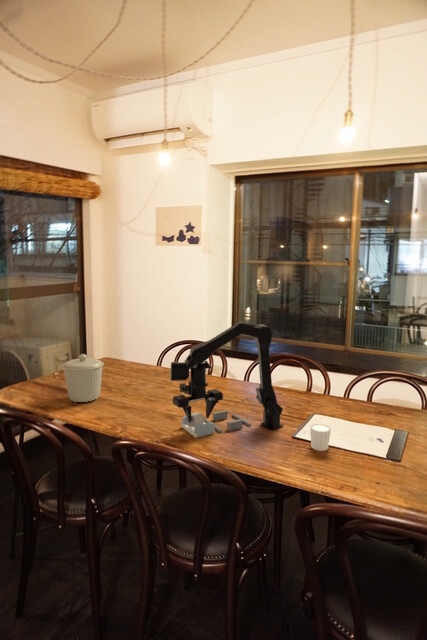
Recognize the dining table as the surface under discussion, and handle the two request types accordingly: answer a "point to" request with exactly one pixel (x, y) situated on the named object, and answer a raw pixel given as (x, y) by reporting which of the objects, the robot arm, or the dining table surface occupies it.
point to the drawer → (198, 428)
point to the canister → (83, 378)
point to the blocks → (231, 424)
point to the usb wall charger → (196, 419)
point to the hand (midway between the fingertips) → (198, 419)
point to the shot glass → (320, 437)
